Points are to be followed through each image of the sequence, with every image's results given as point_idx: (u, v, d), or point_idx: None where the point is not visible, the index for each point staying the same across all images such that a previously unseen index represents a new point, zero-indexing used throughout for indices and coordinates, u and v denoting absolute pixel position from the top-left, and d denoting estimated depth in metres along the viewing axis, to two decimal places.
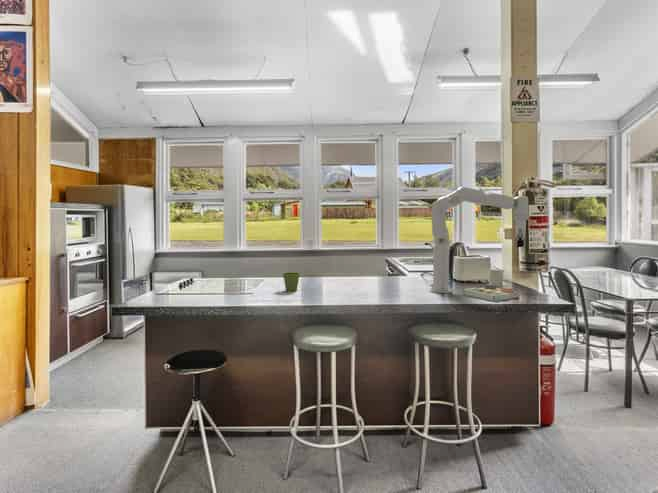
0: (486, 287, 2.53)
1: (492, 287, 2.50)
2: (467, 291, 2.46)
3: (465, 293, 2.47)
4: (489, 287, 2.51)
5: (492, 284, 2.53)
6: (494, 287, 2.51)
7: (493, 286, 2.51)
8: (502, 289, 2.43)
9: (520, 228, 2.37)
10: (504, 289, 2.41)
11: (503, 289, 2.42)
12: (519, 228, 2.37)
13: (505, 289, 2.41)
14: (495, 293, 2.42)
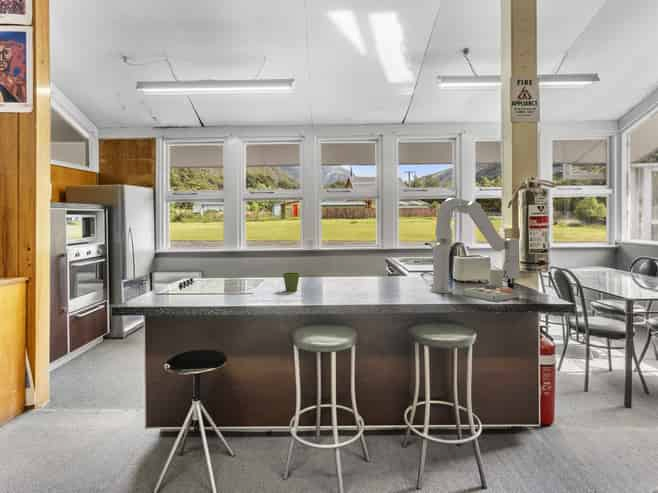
0: (486, 287, 2.53)
1: (492, 287, 2.50)
2: (467, 291, 2.46)
3: (465, 293, 2.47)
4: (489, 287, 2.51)
5: (492, 284, 2.53)
6: (494, 287, 2.51)
7: (493, 286, 2.51)
8: (501, 289, 2.42)
9: (505, 270, 2.41)
10: (503, 289, 2.41)
11: (502, 289, 2.41)
12: (505, 270, 2.41)
13: (504, 289, 2.40)
14: (495, 293, 2.42)
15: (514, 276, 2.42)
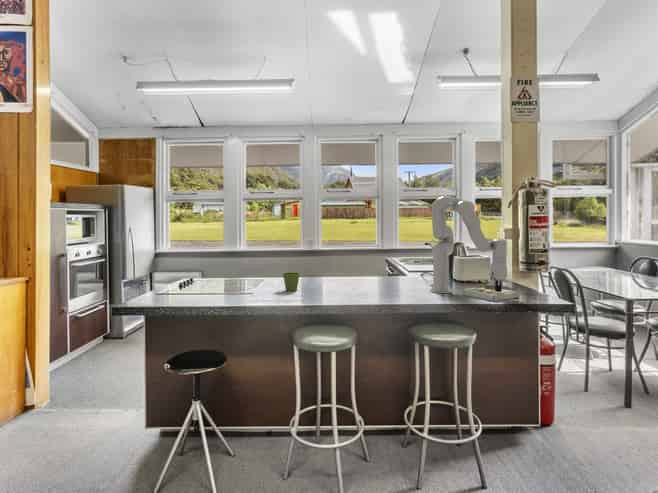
0: (486, 287, 2.53)
1: (492, 287, 2.50)
2: (467, 291, 2.46)
3: (465, 293, 2.47)
4: (489, 287, 2.51)
5: (492, 284, 2.53)
6: (494, 287, 2.51)
7: (493, 286, 2.51)
8: None
9: (493, 271, 2.35)
10: None
11: None
12: (492, 271, 2.36)
13: None
14: (495, 293, 2.42)
15: (502, 278, 2.36)
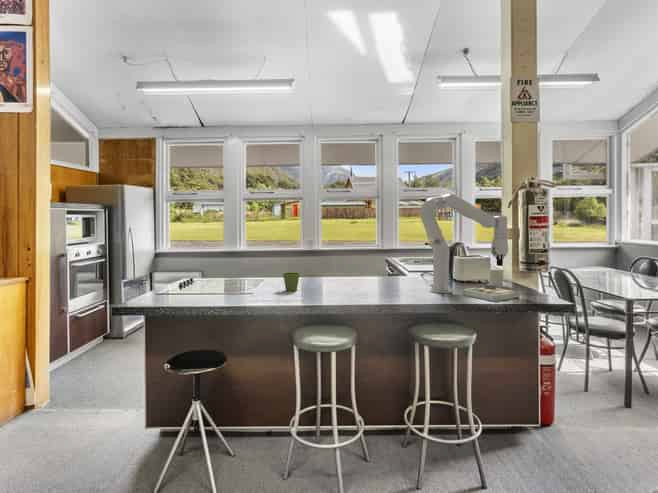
0: (486, 287, 2.53)
1: (492, 287, 2.50)
2: (467, 291, 2.46)
3: (465, 293, 2.47)
4: (489, 287, 2.51)
5: (492, 284, 2.53)
6: (494, 287, 2.51)
7: (493, 286, 2.51)
8: None
9: (494, 246, 2.48)
10: None
11: None
12: (493, 246, 2.49)
13: None
14: (495, 293, 2.42)
15: (503, 252, 2.49)
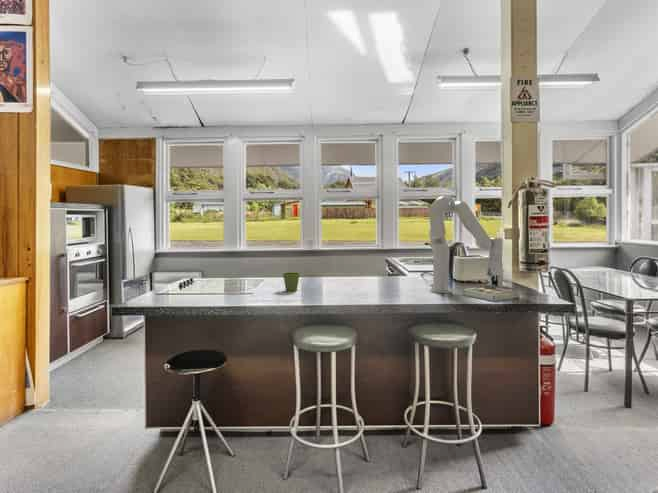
0: (486, 287, 2.52)
1: (492, 287, 2.50)
2: (467, 291, 2.46)
3: (465, 293, 2.47)
4: (489, 287, 2.50)
5: (492, 284, 2.53)
6: (494, 287, 2.51)
7: (493, 286, 2.51)
8: None
9: (489, 268, 2.52)
10: None
11: None
12: (489, 267, 2.52)
13: None
14: (495, 293, 2.42)
15: (498, 273, 2.53)
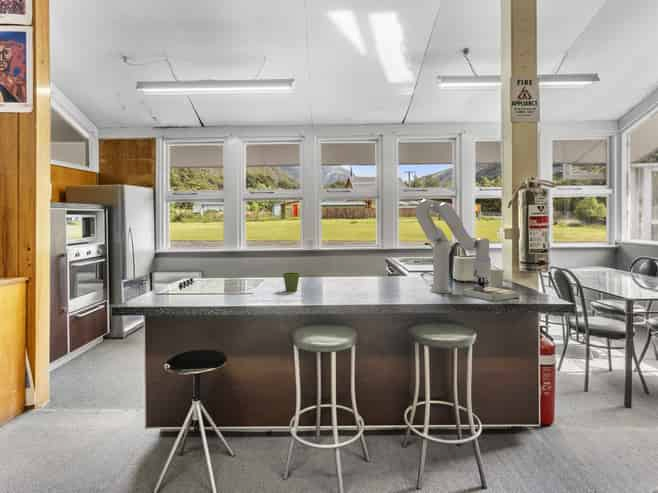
0: None
1: (482, 292, 2.46)
2: (467, 291, 2.46)
3: (465, 293, 2.47)
4: None
5: (477, 288, 2.47)
6: (481, 289, 2.46)
7: (481, 291, 2.45)
8: None
9: (476, 269, 2.46)
10: None
11: None
12: (475, 269, 2.46)
13: None
14: (495, 293, 2.42)
15: (484, 275, 2.47)
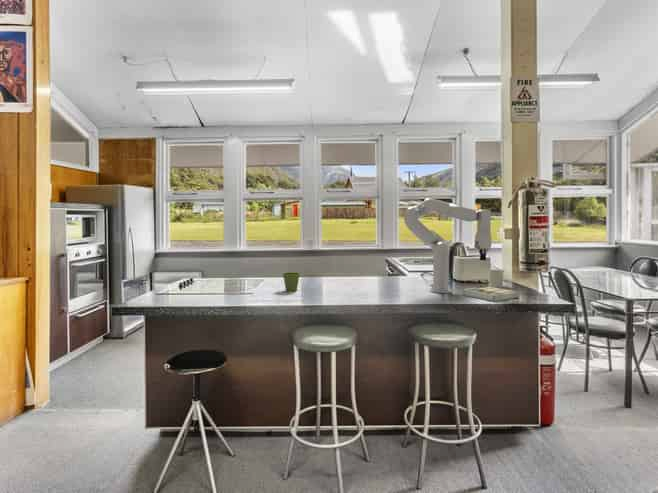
0: None
1: None
2: (467, 291, 2.46)
3: (465, 293, 2.47)
4: None
5: None
6: None
7: None
8: None
9: (477, 240, 2.46)
10: None
11: None
12: (476, 240, 2.46)
13: None
14: (495, 293, 2.42)
15: (486, 246, 2.47)
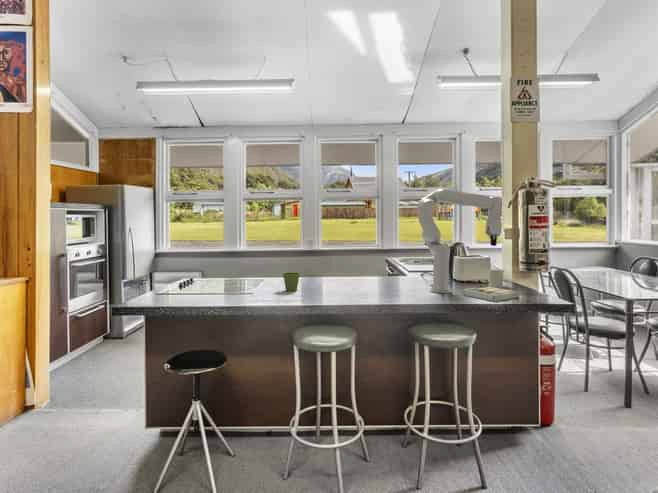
0: None
1: None
2: (467, 291, 2.46)
3: (465, 293, 2.47)
4: None
5: None
6: None
7: None
8: None
9: (488, 226, 2.56)
10: None
11: None
12: (488, 226, 2.56)
13: None
14: (495, 293, 2.42)
15: (496, 232, 2.57)
